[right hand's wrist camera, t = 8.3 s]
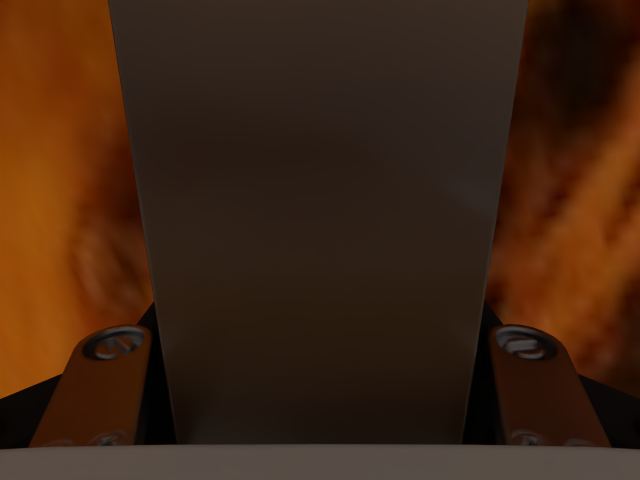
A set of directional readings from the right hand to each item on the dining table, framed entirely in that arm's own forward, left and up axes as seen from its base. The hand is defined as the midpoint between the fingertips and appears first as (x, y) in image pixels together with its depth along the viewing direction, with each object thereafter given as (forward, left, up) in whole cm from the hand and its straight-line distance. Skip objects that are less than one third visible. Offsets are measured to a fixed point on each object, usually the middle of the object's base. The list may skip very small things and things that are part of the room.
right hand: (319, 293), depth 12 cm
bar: (+23, -5, -3) cm, 23 cm away
